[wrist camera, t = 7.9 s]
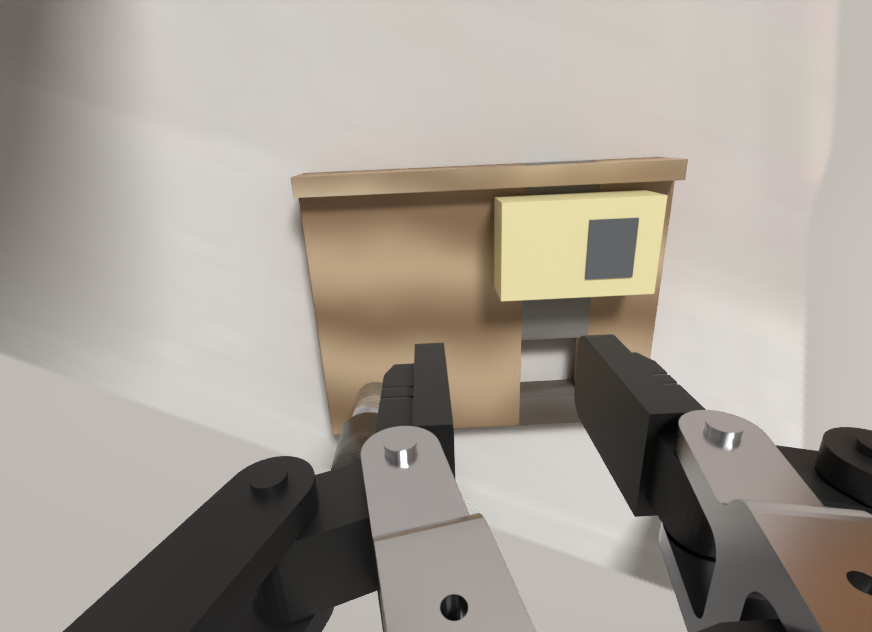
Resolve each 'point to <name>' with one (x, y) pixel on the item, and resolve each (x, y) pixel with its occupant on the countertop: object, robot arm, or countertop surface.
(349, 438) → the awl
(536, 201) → the stud finder
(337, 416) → the board
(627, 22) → the countertop surface
